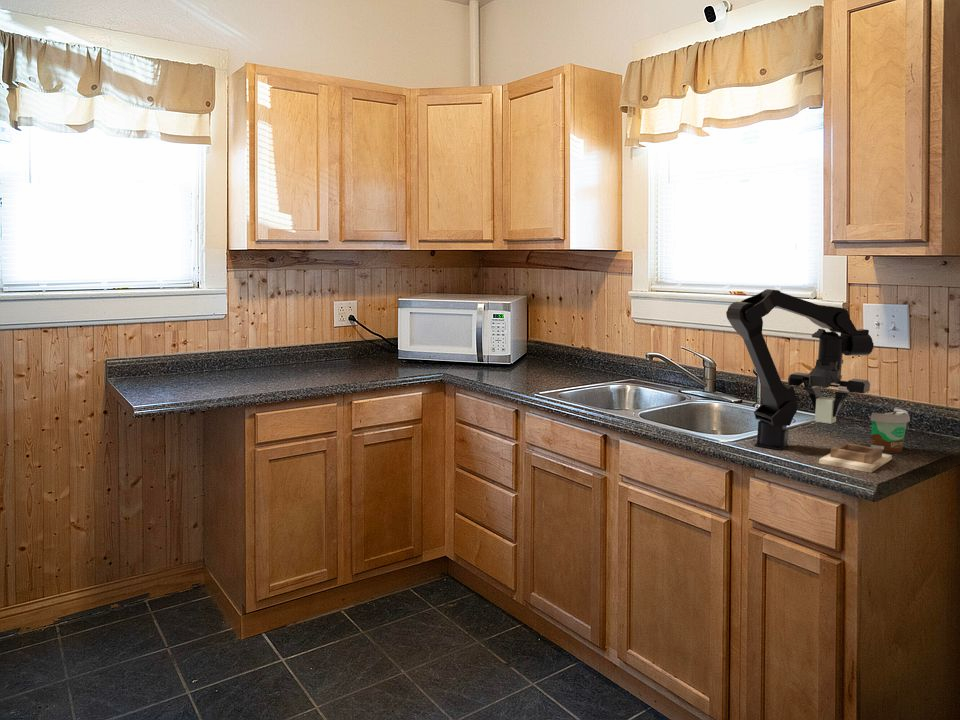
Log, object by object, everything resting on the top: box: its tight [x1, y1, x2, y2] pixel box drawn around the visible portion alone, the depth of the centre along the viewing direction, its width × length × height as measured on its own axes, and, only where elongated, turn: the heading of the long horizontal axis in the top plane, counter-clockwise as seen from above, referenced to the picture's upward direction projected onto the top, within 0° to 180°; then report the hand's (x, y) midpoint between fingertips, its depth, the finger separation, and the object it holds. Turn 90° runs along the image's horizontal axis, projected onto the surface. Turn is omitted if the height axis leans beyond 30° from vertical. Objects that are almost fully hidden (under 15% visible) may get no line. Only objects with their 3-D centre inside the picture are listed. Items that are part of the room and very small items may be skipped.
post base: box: [818, 442, 893, 474], centre depth 187 cm, size 12×17×3 cm
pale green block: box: [814, 396, 837, 425], centre depth 202 cm, size 4×4×6 cm
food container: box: [869, 407, 911, 454], centre depth 197 cm, size 12×6×10 cm, turn 126°
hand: (825, 415), depth 202 cm, fingers closed on pale green block, 4 cm apart
